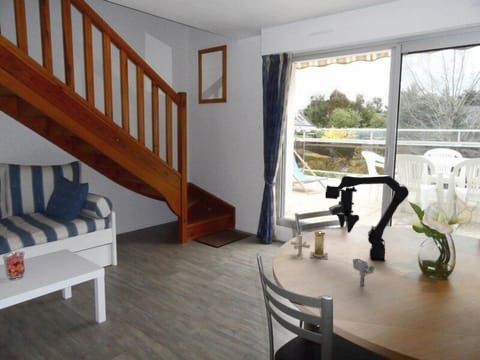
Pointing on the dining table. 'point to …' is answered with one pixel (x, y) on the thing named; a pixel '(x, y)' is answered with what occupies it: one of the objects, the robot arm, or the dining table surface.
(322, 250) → the brass pedestal cup
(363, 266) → the grey mottled tree figurine
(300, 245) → the pipe connector
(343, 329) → the dining table surface
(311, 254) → the mat
